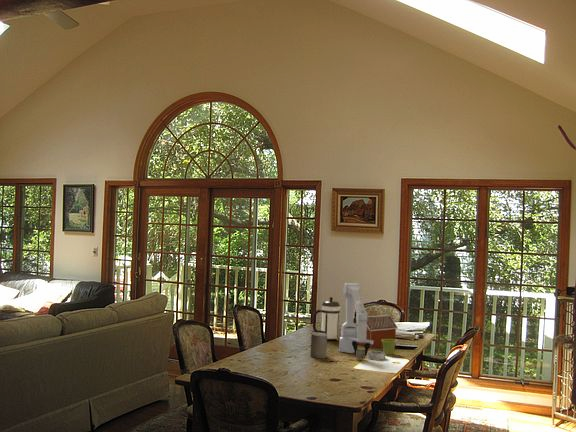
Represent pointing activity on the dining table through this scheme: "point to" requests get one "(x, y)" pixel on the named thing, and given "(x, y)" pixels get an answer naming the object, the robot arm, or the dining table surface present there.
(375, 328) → the gingerbread house
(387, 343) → the plant pot
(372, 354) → the faceted ring
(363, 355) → the cap
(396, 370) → the dining table surface
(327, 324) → the coffee press
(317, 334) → the pillar candle
